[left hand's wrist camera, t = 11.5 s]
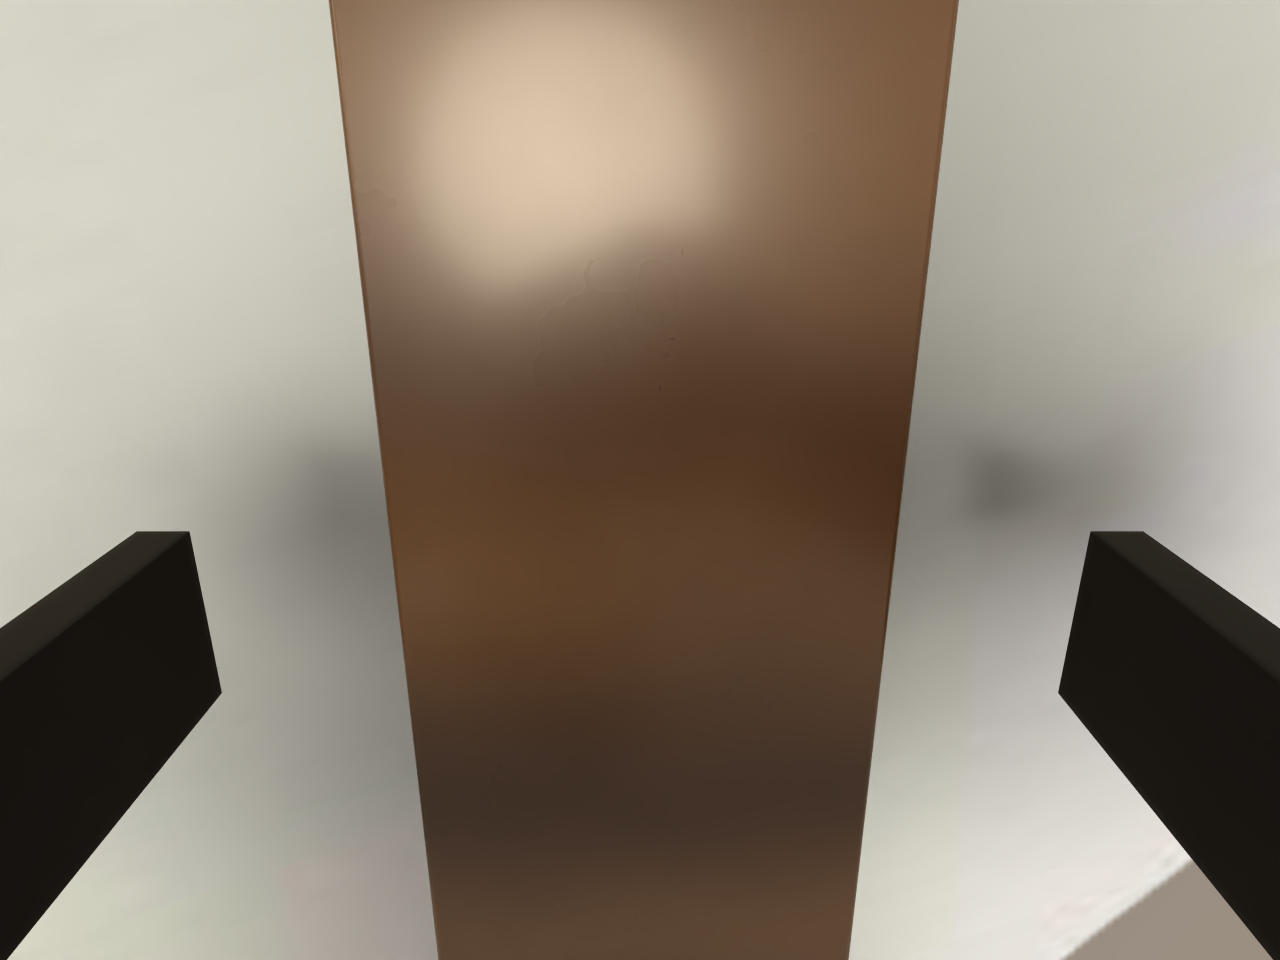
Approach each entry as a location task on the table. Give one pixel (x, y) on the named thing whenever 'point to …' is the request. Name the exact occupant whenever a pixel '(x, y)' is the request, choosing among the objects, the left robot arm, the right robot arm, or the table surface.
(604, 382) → the bar
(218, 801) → the table surface
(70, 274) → the table surface
